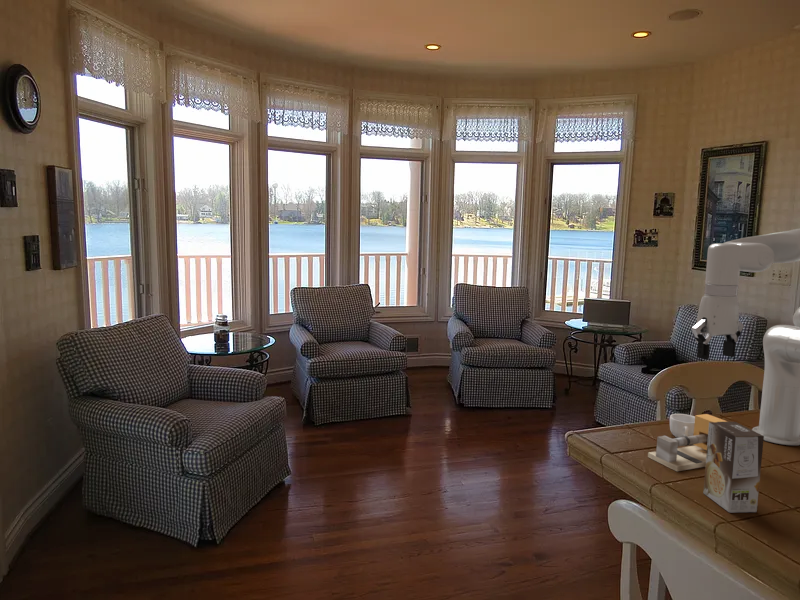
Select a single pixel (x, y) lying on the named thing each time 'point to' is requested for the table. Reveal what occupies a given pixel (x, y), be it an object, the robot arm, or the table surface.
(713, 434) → the coffee box
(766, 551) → the table surface
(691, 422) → the teacup
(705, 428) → the collar
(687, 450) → the pipe stand
